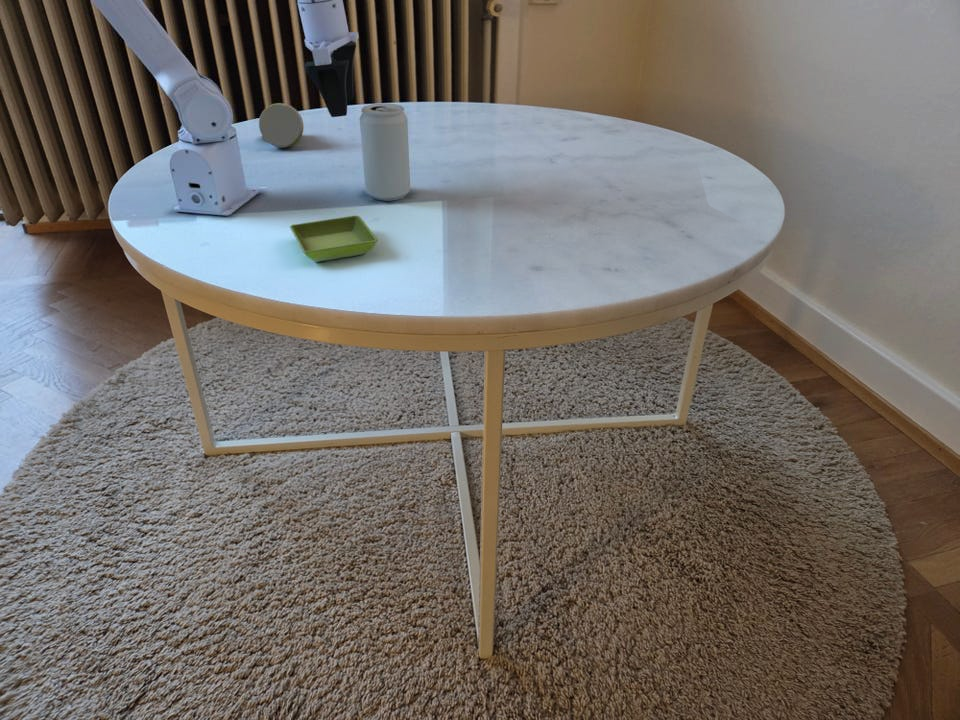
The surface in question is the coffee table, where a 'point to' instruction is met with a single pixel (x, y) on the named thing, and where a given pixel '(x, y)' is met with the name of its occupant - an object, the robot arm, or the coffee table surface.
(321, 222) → the green tray
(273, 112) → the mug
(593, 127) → the coffee table surface
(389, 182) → the beverage can
